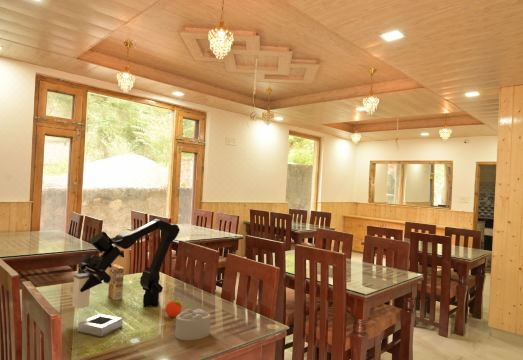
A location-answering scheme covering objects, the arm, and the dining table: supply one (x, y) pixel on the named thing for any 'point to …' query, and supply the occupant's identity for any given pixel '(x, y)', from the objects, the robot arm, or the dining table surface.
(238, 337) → the dining table surface
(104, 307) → the dining table surface
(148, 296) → the robot arm
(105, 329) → the socket
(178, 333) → the lumpy-topped squat cylinder
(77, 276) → the plug
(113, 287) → the candy box
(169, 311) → the tomato
